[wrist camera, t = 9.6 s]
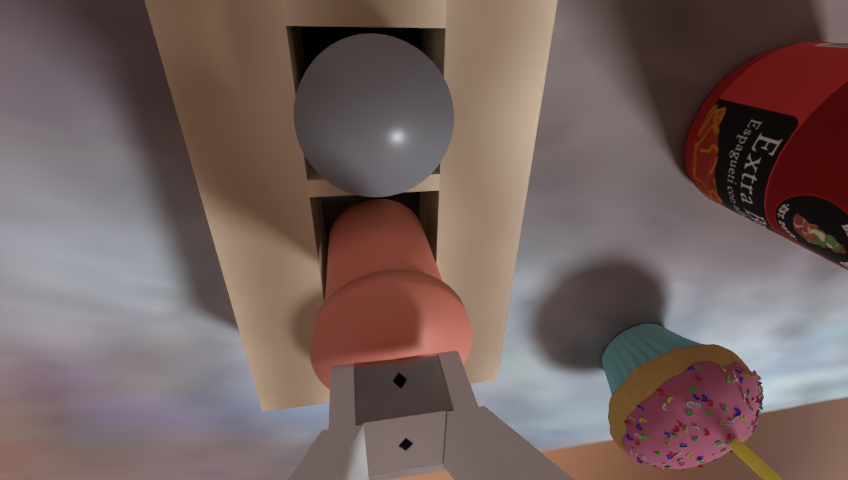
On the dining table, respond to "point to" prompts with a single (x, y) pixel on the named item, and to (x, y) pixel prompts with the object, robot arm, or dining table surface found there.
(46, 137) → the dining table surface
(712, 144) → the canned food
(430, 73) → the graphite plug
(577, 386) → the dining table surface
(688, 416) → the cupcake
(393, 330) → the red plug
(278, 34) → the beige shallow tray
